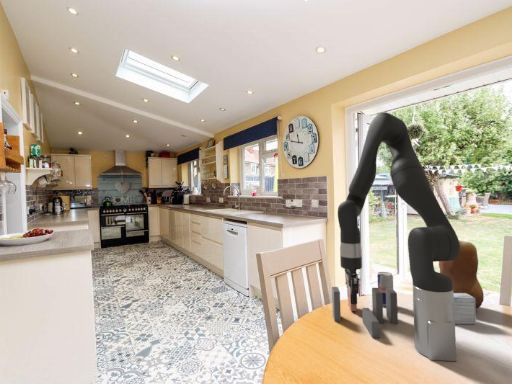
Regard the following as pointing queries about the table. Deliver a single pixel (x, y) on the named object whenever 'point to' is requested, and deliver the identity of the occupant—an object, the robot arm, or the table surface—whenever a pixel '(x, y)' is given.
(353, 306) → the domino
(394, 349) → the table surface
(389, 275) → the energy drink
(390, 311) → the domino
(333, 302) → the domino
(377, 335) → the domino
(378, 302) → the domino
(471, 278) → the butternut squash
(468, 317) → the medicine box
